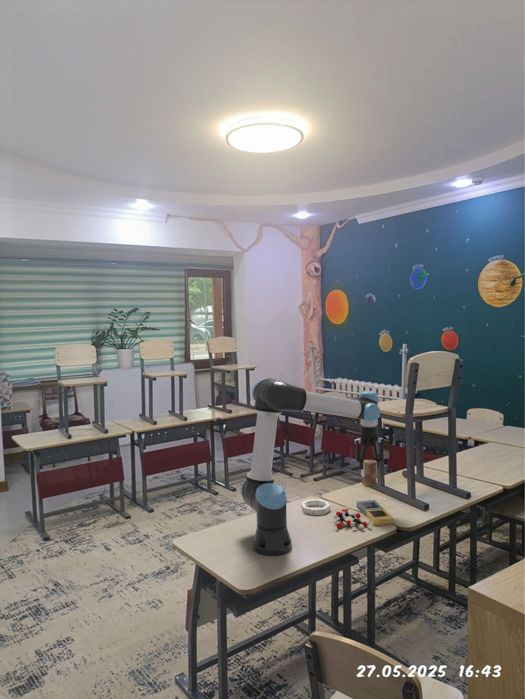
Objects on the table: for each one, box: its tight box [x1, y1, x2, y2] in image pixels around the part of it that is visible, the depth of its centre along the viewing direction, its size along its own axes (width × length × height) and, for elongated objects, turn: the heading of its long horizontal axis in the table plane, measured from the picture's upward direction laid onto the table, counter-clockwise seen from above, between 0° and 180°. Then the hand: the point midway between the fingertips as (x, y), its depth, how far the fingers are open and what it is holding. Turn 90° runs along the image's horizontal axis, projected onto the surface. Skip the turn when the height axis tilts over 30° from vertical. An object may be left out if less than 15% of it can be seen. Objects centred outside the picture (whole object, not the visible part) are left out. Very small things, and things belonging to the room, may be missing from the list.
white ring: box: [300, 498, 331, 516], centre depth 227 cm, size 12×12×2 cm
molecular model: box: [333, 506, 371, 530], centre depth 210 cm, size 10×12×15 cm
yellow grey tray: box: [356, 499, 395, 526], centre depth 219 cm, size 9×21×3 cm, turn 9°
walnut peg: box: [361, 459, 378, 488], centre depth 223 cm, size 5×5×11 cm
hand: (369, 475), depth 223 cm, fingers closed on walnut peg, 5 cm apart
